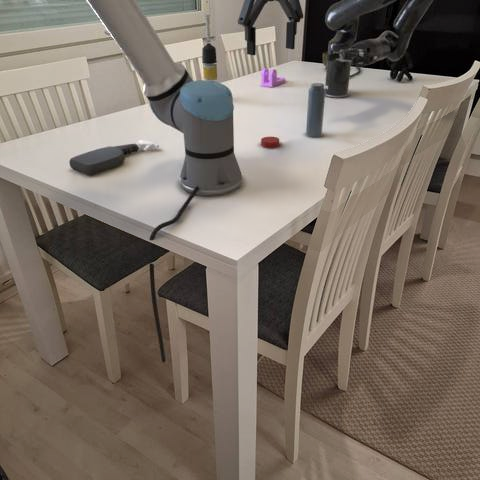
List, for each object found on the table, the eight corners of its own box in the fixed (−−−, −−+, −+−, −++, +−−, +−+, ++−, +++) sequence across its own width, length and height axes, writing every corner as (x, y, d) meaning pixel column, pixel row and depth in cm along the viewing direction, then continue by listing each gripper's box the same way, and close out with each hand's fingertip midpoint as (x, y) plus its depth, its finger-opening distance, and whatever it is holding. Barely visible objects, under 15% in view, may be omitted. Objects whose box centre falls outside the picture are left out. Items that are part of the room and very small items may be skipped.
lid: (281, 147, 131) (281, 141, 130) (263, 148, 130) (263, 143, 129) (276, 141, 136) (276, 135, 135) (259, 142, 135) (259, 137, 134)
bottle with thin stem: (220, 99, 177) (217, 15, 161) (206, 100, 176) (202, 16, 160) (215, 96, 182) (212, 14, 166) (202, 97, 180) (197, 14, 164)
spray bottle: (67, 168, 120) (139, 144, 136) (91, 178, 114) (163, 151, 130) (65, 157, 118) (137, 134, 134) (89, 167, 112) (162, 142, 128)
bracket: (271, 87, 193) (272, 70, 189) (261, 85, 196) (261, 68, 192) (287, 81, 202) (288, 65, 198) (277, 79, 205) (277, 63, 201)
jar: (303, 133, 141) (306, 83, 133) (317, 131, 142) (321, 82, 134) (310, 138, 137) (313, 87, 129) (324, 136, 138) (328, 85, 130)
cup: (319, 70, 220) (320, 53, 216) (324, 67, 226) (325, 50, 221) (333, 71, 217) (335, 54, 213) (338, 69, 222) (340, 51, 218)
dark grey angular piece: (400, 92, 202) (376, 71, 205) (417, 76, 202) (392, 56, 205) (405, 81, 191) (380, 59, 194) (423, 64, 191) (397, 42, 194)
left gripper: (241, -43, 99) (242, 59, 110) (320, -44, 111) (314, 47, 123) (221, -42, 104) (225, 55, 115) (299, -43, 117) (295, 44, 128)
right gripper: (349, 38, 148) (321, 44, 138) (389, 41, 139) (362, 48, 129) (347, 62, 152) (319, 69, 142) (385, 67, 143) (359, 75, 133)
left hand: (271, 51), depth 119 cm, fingers open, 13 cm apart
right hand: (340, 59), depth 135 cm, fingers open, 8 cm apart
